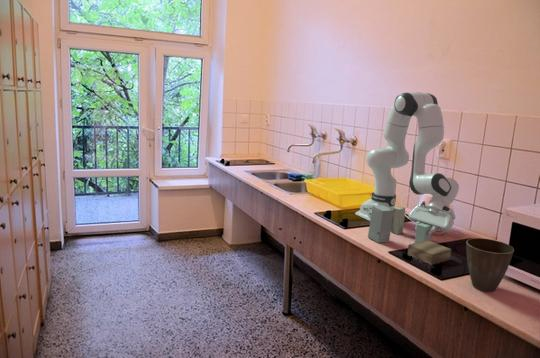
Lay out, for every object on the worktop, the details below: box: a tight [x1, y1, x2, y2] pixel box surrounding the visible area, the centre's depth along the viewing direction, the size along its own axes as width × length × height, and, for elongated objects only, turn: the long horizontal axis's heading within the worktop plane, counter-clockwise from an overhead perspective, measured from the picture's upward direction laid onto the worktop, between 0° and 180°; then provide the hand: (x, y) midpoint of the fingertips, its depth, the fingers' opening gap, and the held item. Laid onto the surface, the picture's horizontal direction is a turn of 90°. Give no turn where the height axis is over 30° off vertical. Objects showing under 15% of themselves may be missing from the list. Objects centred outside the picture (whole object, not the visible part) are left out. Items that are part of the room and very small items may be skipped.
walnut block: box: [407, 240, 452, 266], centre depth 173 cm, size 12×12×5 cm
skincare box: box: [367, 205, 394, 244], centre depth 191 cm, size 8×7×16 cm
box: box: [390, 205, 406, 235], centre depth 202 cm, size 5×4×13 cm
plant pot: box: [465, 237, 515, 293], centre depth 147 cm, size 15×15×16 cm
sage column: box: [414, 223, 432, 243], centre depth 189 cm, size 4×4×9 cm
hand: (422, 232), depth 188 cm, fingers closed on sage column, 4 cm apart
